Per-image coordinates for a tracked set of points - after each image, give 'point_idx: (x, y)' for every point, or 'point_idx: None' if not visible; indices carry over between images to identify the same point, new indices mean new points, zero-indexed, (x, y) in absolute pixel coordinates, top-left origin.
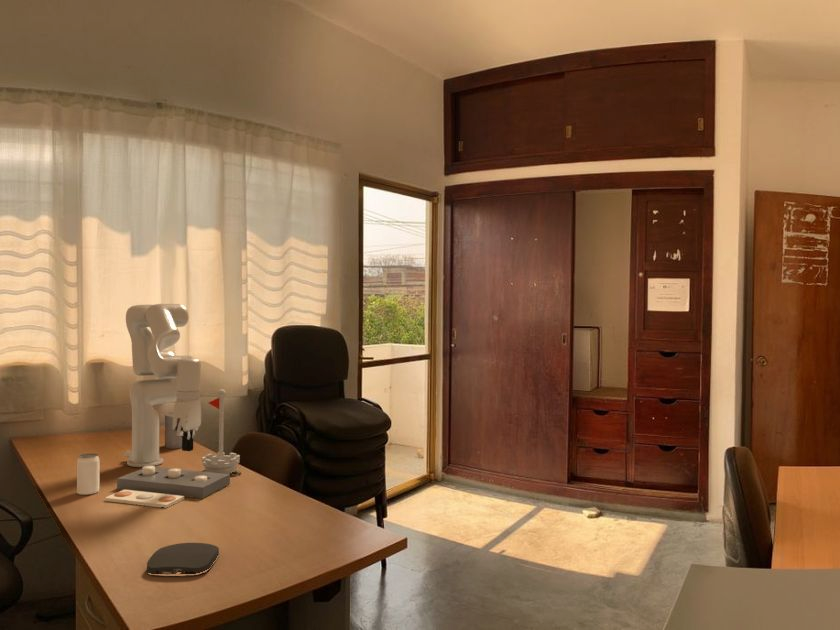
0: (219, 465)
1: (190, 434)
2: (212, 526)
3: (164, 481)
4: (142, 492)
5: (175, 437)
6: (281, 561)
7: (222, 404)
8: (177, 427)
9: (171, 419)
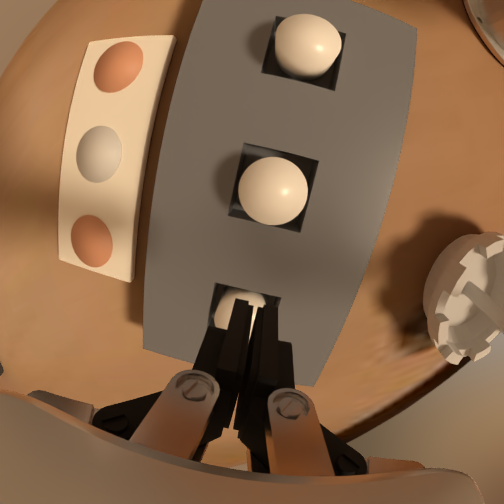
0: (431, 320)
1: (262, 455)
2: (41, 365)
3: (180, 178)
4: (139, 115)
5: None
6: None
7: None
8: (56, 465)
9: None
